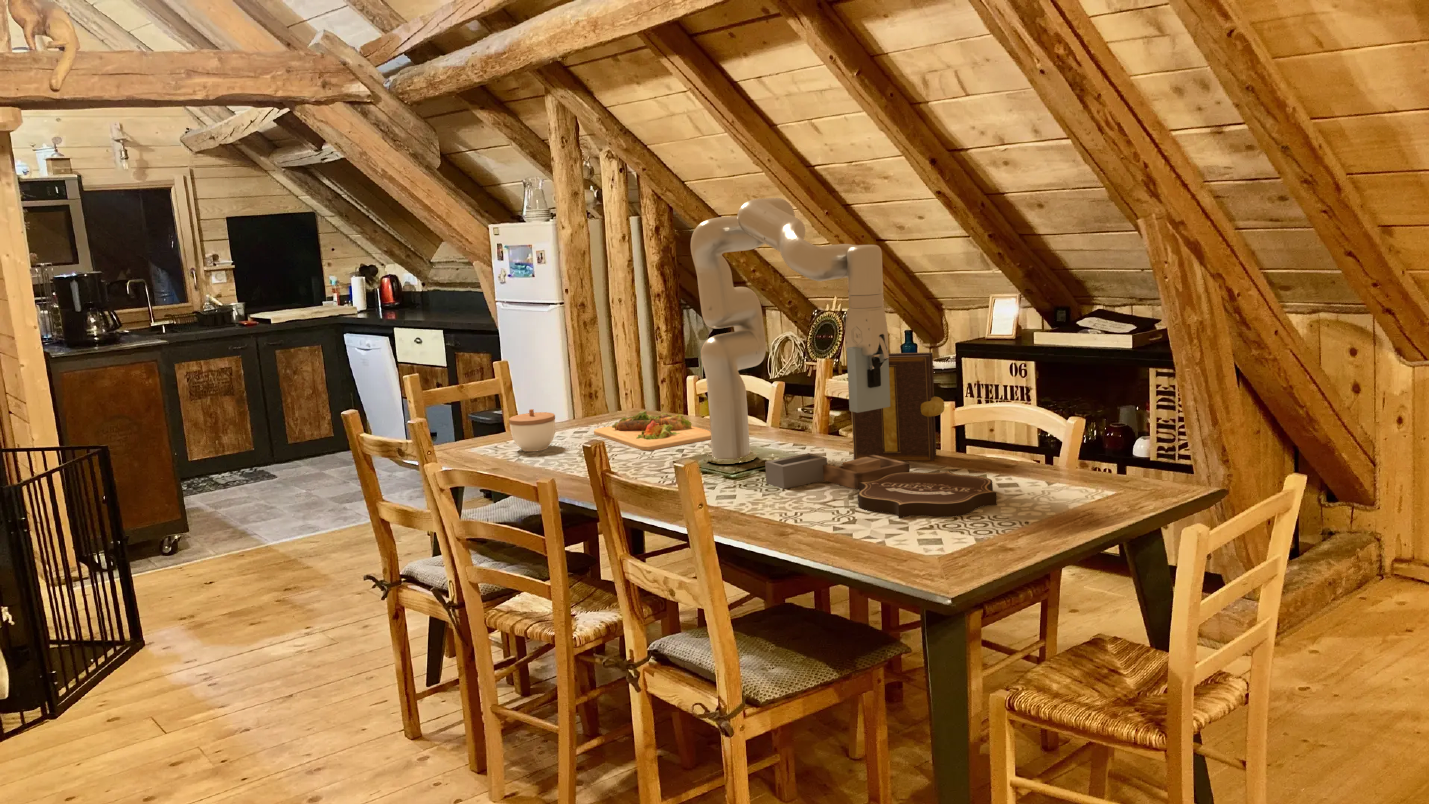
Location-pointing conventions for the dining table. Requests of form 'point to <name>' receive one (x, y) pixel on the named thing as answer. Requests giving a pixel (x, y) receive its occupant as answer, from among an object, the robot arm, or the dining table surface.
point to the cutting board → (653, 431)
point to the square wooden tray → (853, 478)
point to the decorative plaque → (926, 494)
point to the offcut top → (862, 464)
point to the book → (902, 413)
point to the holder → (795, 470)
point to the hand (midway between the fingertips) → (869, 385)
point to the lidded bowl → (533, 430)
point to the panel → (866, 383)
